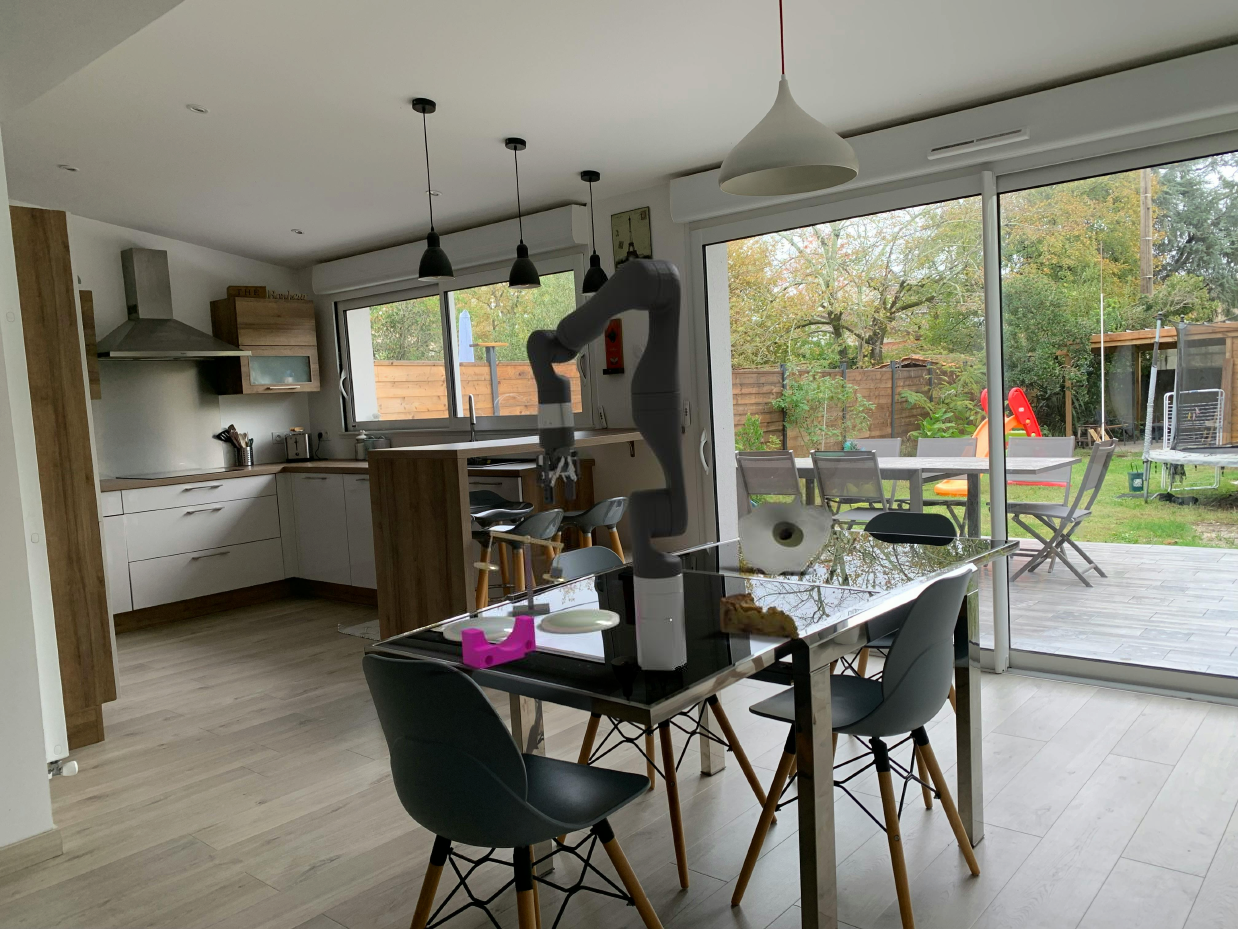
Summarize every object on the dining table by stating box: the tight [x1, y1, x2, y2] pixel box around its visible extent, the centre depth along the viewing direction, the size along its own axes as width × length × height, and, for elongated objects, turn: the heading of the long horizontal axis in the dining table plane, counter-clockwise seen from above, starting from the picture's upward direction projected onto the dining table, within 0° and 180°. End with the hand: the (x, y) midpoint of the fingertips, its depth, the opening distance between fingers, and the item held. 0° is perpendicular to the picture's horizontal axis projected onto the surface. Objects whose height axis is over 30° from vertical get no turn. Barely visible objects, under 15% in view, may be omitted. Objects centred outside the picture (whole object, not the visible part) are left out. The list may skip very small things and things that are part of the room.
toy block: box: [461, 615, 537, 670], centre depth 176 cm, size 15×6×8 cm, turn 132°
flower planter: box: [737, 491, 834, 576], centre depth 258 cm, size 16×30×28 cm
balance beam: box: [473, 530, 568, 583], centre depth 214 cm, size 6×23×9 cm, turn 96°
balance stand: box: [512, 543, 551, 617], centre depth 215 cm, size 6×9×17 cm, turn 96°
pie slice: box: [718, 592, 800, 640], centre depth 184 cm, size 18×10×8 cm, turn 41°
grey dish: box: [442, 615, 515, 642], centre depth 199 cm, size 18×18×1 cm
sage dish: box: [540, 608, 620, 634], centre depth 202 cm, size 18×18×1 cm
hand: (560, 501), depth 186 cm, fingers open, 8 cm apart
